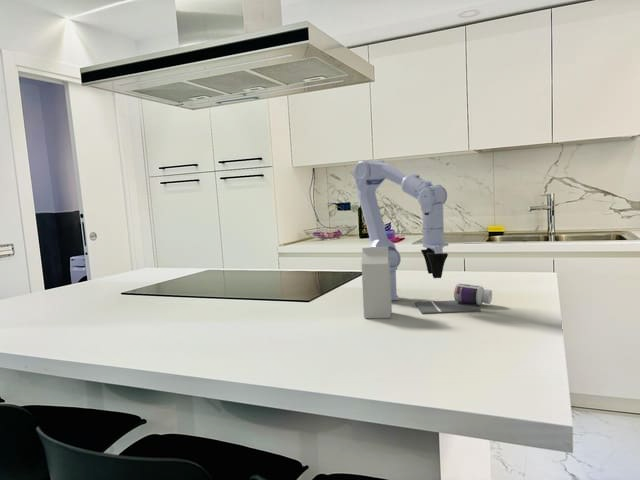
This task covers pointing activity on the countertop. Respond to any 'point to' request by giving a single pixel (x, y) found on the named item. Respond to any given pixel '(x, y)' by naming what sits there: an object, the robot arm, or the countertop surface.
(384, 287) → the milk carton
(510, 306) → the countertop surface
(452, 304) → the mat
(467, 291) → the pill bottle
